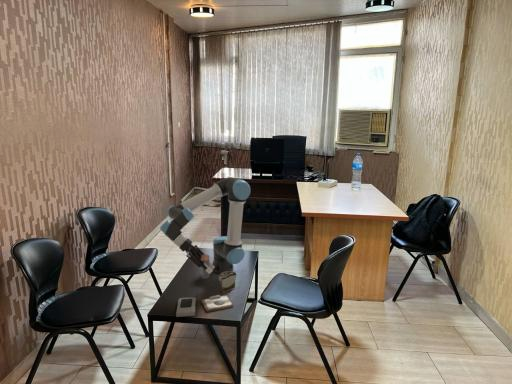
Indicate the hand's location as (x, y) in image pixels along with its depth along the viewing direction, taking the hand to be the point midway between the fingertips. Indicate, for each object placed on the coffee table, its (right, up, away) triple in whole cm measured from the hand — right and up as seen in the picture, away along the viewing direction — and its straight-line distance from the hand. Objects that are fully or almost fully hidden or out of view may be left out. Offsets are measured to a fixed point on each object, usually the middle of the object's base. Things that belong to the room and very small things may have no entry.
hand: (212, 270), depth 209 cm
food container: (+7, -14, +12) cm, 20 cm away
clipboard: (+4, -18, -6) cm, 19 cm away
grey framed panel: (-13, -19, -10) cm, 25 cm away
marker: (-4, -4, +1) cm, 6 cm away
